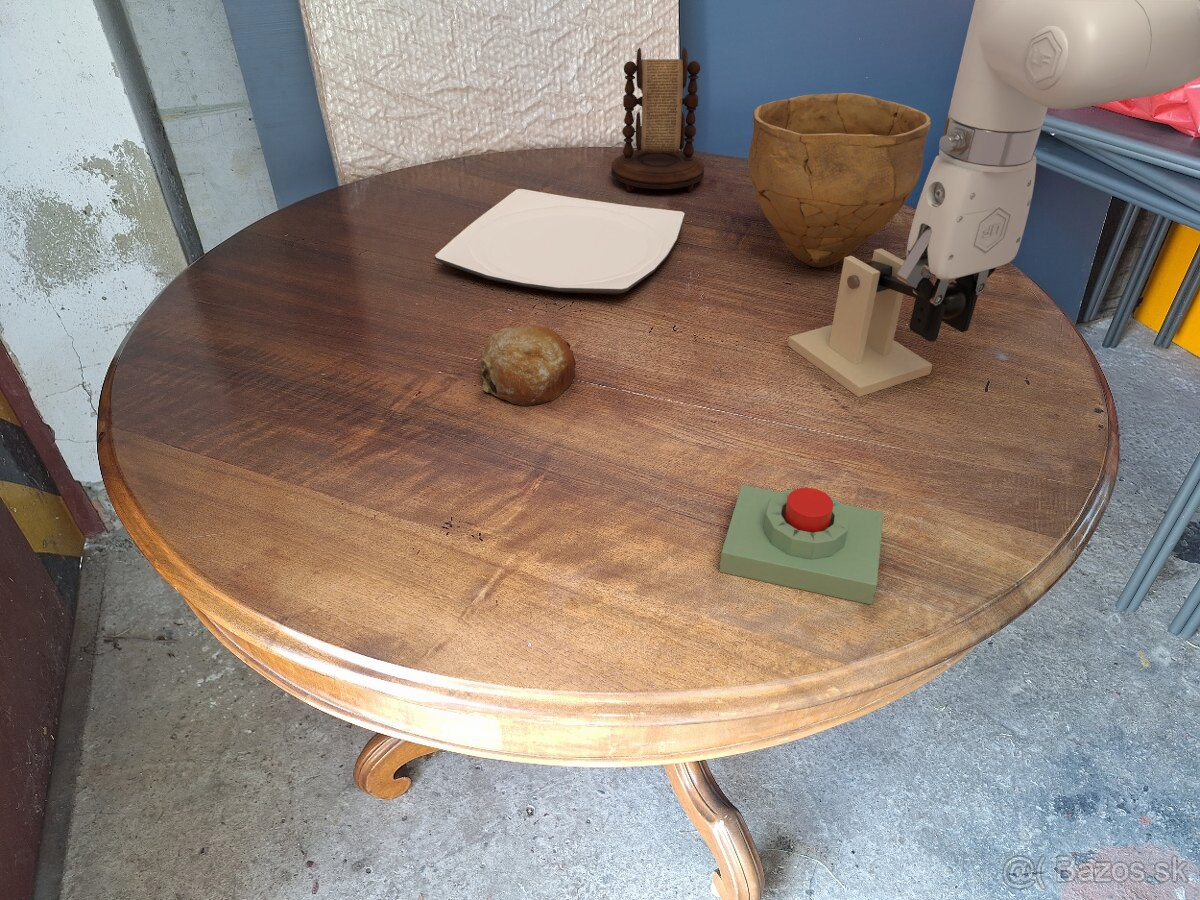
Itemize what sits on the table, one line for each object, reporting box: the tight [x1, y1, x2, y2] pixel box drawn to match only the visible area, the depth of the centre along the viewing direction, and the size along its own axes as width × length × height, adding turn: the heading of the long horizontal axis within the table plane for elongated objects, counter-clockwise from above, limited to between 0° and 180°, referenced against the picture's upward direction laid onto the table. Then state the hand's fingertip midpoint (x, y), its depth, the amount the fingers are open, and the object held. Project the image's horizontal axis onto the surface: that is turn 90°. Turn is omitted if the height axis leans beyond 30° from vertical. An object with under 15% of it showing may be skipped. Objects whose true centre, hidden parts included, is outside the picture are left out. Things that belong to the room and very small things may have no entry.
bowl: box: [747, 92, 932, 269], centre depth 112 cm, size 21×20×20 cm
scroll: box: [610, 46, 705, 193], centre depth 137 cm, size 15×15×20 cm
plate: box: [434, 188, 686, 295], centre depth 121 cm, size 29×29×3 cm
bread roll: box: [479, 325, 577, 407], centre depth 94 cm, size 10×10×8 cm
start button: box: [785, 487, 833, 533], centre depth 71 cm, size 4×4×2 cm
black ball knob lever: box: [864, 260, 966, 319], centre depth 89 cm, size 13×3×3 cm, turn 28°
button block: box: [718, 484, 885, 606], centre depth 73 cm, size 12×9×4 cm
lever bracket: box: [787, 247, 933, 398], centre depth 95 cm, size 12×10×12 cm
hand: (938, 328), depth 87 cm, fingers closed on black ball knob lever, 3 cm apart
